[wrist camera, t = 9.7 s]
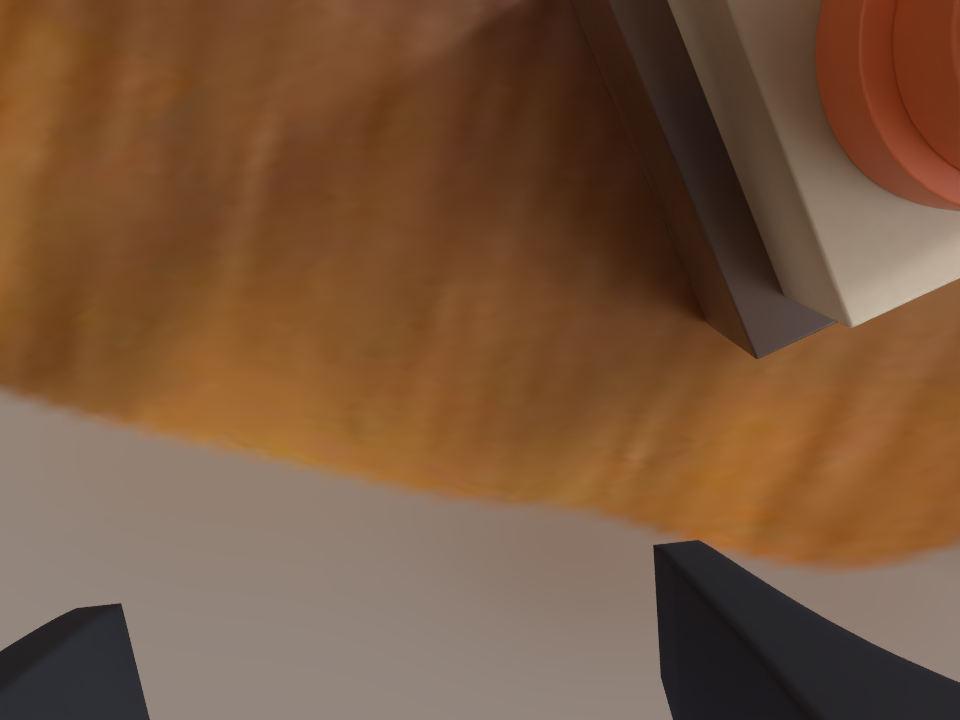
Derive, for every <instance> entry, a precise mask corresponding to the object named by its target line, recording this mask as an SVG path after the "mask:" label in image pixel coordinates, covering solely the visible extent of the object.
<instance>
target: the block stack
mask: <svg viewBox="0 0 960 720" xmlns="http://www.w3.org/2000/svg"><path fill="white" fill-rule="evenodd" d="M570 1H571V3H572V5H573V8H574V10H575V13H576V15H577V17H578V20H579V22H580V24H581V27H582V29H583V31H584V34H585V36H586V38H587V41H588V43H589V45H590V48H591V50H592V52H593V55H594V57H595V60H596V62H597V64H598V67H599V69H600V71H601V74H602V76H603V78H604V81H605V83H606V85H607V88H608V90H609V92H610V95H611V97H612V99H613V102H614V104H615V107H616V109H617V111H618V114H619V116H620V118H621V121H622V123H623V125H624V128H625V130H626V132H627V135H628V137H629V139H630V142H631V144H632V147H633V149H634V151H635V154H636V156H637V158H638V161H639V163H640V165H641V168H642V170H643V172H644V175H645V177H646V179H647V182H648V184H649V186H650V189H651V191H652V194H653V196H654V198H655V201H656V203H657V205H658V208H659V210H660V212H661V215H662V217H663V219H664V222H665V224H666V226H667V229H668V231H669V233H670V236H671V238H672V241H673V243H674V245H675V248H676V250H677V252H678V255H679V257H680V259H681V262H682V264H683V266H684V269H685V271H686V273H687V276H688V278H689V280H690V283H691V285H692V288H693V290H694V292H695V295H696V297H697V299H698V302H699V304H700V306H701V309H702V311H703V313H704V316H705V318H706V320H707V323H708V324H709V325H710V326H712V327H713V328H714V329H716V330H717V331H718V332H720V333H721V334H723V335H724V336H725V337H727V338H728V339H730V340H731V341H732V342H734V343H735V344H736V345H738V346H739V347H741V348H742V349H743V350H745V351H746V352H747V353H749V354H750V355H752V356H753V357H754V358H756V359H759V358H761V357H763V356H765V355H768V354H770V353H772V352H774V351H776V350H778V349H780V348H783V347H785V346H787V345H789V344H791V343H793V342H796V341H798V340H800V339H802V338H804V337H806V336H808V335H811V334H813V333H815V332H817V331H819V330H821V329H824V328H826V327H828V326H830V325H832V324H834V323H836V322H840V323H842V324H844V325H846V326H848V327H855V326H857V325H859V324H861V323H864V322H866V321H868V320H870V319H872V318H874V317H877V316H879V315H881V314H883V313H885V312H887V311H889V310H892V309H894V308H896V307H898V306H900V305H902V304H905V303H907V302H909V301H911V300H913V299H915V298H918V297H920V296H922V295H924V294H926V293H928V292H930V291H933V290H935V289H937V288H939V287H941V286H943V285H946V284H948V283H950V282H952V281H954V280H956V279H959V278H960V211H953V210H945V209H938V208H933V207H929V206H925V205H920V204H916V203H914V202H911V201H909V200H906V199H903V198H901V197H898V196H896V195H895V194H893V193H891V192H889V191H888V190H886V189H884V188H882V187H881V186H879V185H878V184H877V183H875V182H874V181H873V180H872V179H870V178H869V177H868V176H867V175H865V174H864V173H863V172H862V171H861V170H860V169H859V168H858V166H857V165H856V164H855V163H854V162H853V161H852V160H851V159H850V158H849V156H848V155H847V153H846V152H845V151H844V149H843V148H842V146H841V145H840V143H839V142H838V140H837V138H836V136H835V134H834V132H833V130H832V128H831V126H830V124H829V122H828V120H827V117H826V114H825V111H824V108H823V105H822V102H821V98H820V92H819V87H818V82H817V74H816V59H815V51H816V35H817V27H818V21H819V16H820V10H821V5H822V2H823V0H570Z"/></svg>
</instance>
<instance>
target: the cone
mask: <svg viewBox="0 0 960 720" xmlns="http://www.w3.org/2000/svg"><path fill="white" fill-rule="evenodd" d="M815 59H816V74H817V82H818V87H819V92H820V98H821V102H822V105H823V108H824V111H825V114H826V117H827V120H828V122H829V124H830V126H831V128H832V130H833V132H834V134H835V136H836V138H837V140H838V142H839V143H840V145H841V146H842V148H843V149H844V151H845V152H846V153H847V155H848V156H849V158H850V159H851V160H852V161H853V162H854V163H855V164H856V165H857V166H858V168H859V169H860V170H861V171H862V172H863V173H864V174H865V175H867V176H868V177H869V178H870V179H872V180H873V181H874V182H875V183H877V184H878V185H879V186H881V187H882V188H884V189H886V190H888V191H889V192H891V193H893V194H895V195H896V196H898V197H901V198H903V199H906V200H909V201H911V202H914V203H916V204H920V205H925V206H929V207H933V208H938V209H945V210H953V211H960V0H823V2H822V5H821V10H820V16H819V21H818V27H817V35H816V51H815Z"/></svg>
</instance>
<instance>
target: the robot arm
mask: <svg viewBox="0 0 960 720" xmlns="http://www.w3.org/2000/svg"><path fill="white" fill-rule="evenodd" d="M653 547H654V563H655V582H656V598H657V599H656V600H657V617H658V634H659V652H660V669H661V679H662V683H663V686H664V690H665V693H666V697H667V700H668V704H669V707H670V711H671V714H672V717H673V720H960V683H959V682H957V681H954V680H952V679H949V678H947V677H945V676H943V675H940V674H938V673H936V672H933V671H931V670H929V669H927V668H924V667H922V666H920V665H917V664H915V663H912V662H911V661H908V660H906V659H904V658H901V657H899V656H897V655H895V654H893V653H891V652H889V651H887V650H884V649H882V648H880V647H878V646H876V645H874V644H872V643H870V642H868V641H866V640H864V639H863V638H861V637H859V636H857V635H855V634H853V633H851V632H850V631H848V630H846V629H844V628H842V627H840V626H838V625H836V624H835V623H833V622H831V621H829V620H827V619H825V618H823V617H821V616H820V615H818V614H817V613H815V612H813V611H811V610H810V609H808V608H806V607H804V606H803V605H801V604H800V603H798V602H796V601H795V600H793V599H791V598H790V597H788V596H786V595H785V594H783V593H782V592H780V591H778V590H777V589H775V588H773V587H772V586H770V585H769V584H767V583H765V582H764V581H762V580H761V579H759V578H758V577H756V576H755V575H753V574H751V573H750V572H748V571H747V570H745V569H744V568H742V567H741V566H739V565H738V564H736V563H735V562H733V561H732V560H730V559H729V558H727V557H725V556H724V555H722V554H721V553H719V552H718V551H716V550H715V549H713V548H711V547H710V546H708V545H706V544H705V543H703V542H701V541H699V540H695V541H686V542H677V543H668V544H659V545H653ZM0 720H150V719H149V715H148V711H147V707H146V703H145V699H144V695H143V691H142V687H141V682H140V679H139V674H138V670H137V666H136V662H135V658H134V654H133V650H132V646H131V642H130V638H129V633H128V629H127V625H126V621H125V617H124V613H123V609H122V605H121V603H120V604H111V605H102V606H93V607H84V608H76V609H74V610H72V611H70V612H67V613H65V614H63V615H61V616H59V617H57V618H55V619H54V620H52V621H50V622H48V623H47V624H45V625H43V626H41V627H39V628H38V629H36V630H34V631H33V632H31V633H29V634H28V635H26V636H25V637H23V638H21V639H20V640H18V641H16V642H15V643H13V644H11V645H10V646H8V647H7V648H5V649H4V650H2V651H0Z"/></svg>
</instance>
